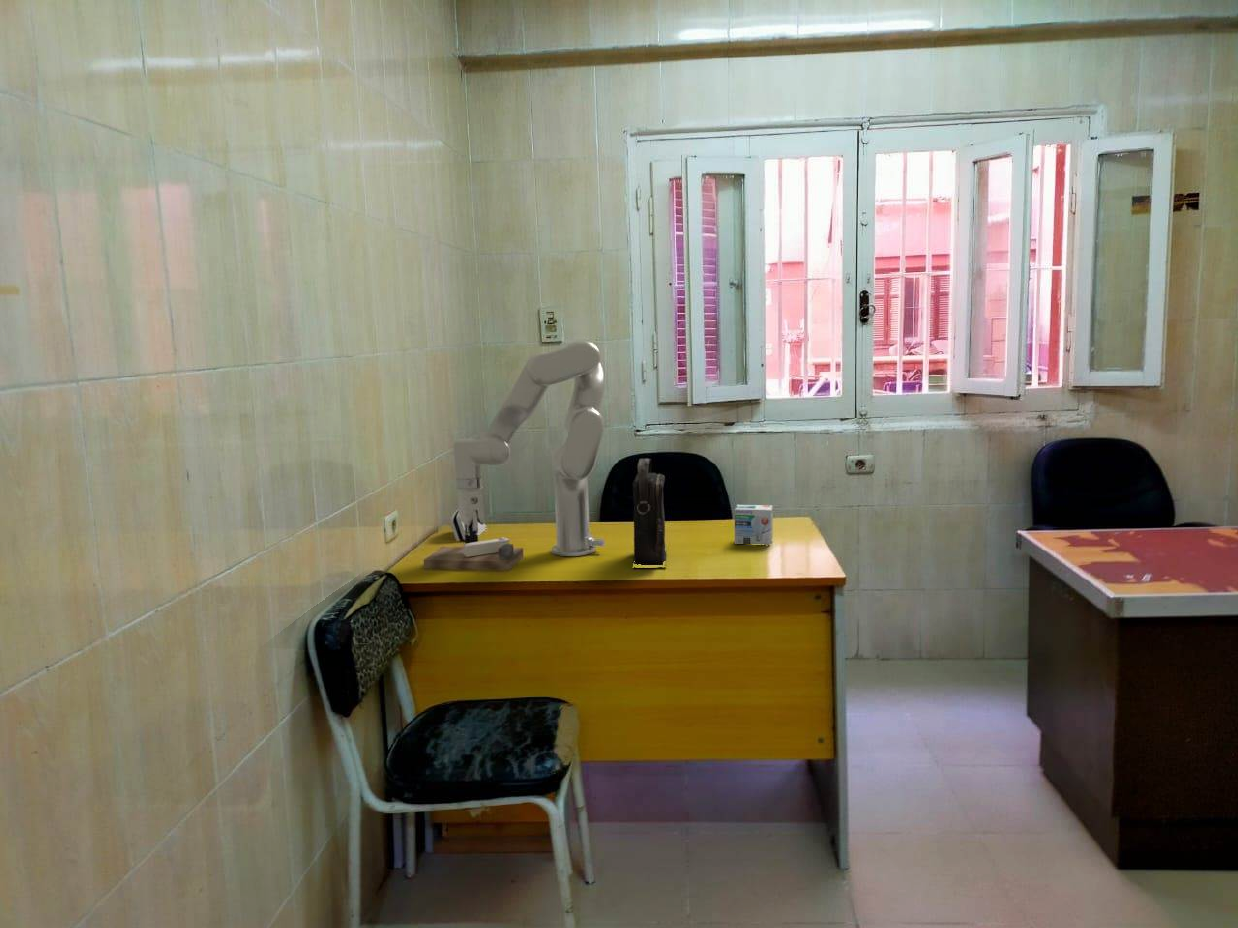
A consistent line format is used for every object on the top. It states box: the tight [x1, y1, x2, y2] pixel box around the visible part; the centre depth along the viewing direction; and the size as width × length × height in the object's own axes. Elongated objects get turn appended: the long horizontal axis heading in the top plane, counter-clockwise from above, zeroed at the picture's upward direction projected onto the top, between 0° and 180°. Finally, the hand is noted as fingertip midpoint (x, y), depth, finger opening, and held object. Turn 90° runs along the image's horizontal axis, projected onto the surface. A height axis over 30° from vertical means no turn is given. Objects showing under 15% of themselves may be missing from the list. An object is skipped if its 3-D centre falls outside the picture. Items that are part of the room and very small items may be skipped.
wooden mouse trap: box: [423, 543, 524, 571], centre depth 242 cm, size 24×14×6 cm, turn 80°
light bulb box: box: [734, 504, 774, 545], centre depth 255 cm, size 11×7×11 cm, turn 76°
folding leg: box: [462, 536, 510, 557], centre depth 243 cm, size 12×3×3 cm, turn 118°
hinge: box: [449, 509, 488, 542], centre depth 275 cm, size 17×5×10 cm, turn 172°
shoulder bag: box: [632, 457, 668, 565], centre depth 240 cm, size 23×9×28 cm, turn 176°
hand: (471, 548), depth 244 cm, fingers closed
